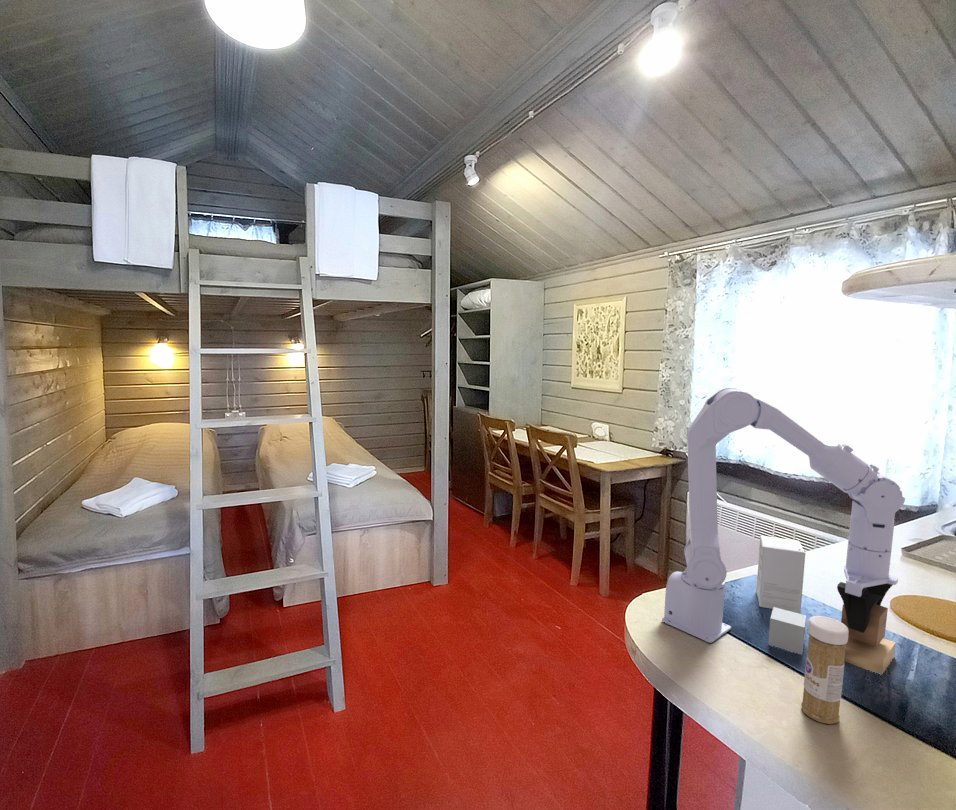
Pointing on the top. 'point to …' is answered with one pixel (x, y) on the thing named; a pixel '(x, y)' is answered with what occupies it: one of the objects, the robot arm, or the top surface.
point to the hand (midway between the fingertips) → (861, 624)
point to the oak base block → (870, 654)
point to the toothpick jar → (824, 669)
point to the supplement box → (780, 573)
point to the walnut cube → (870, 626)
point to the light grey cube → (787, 630)
